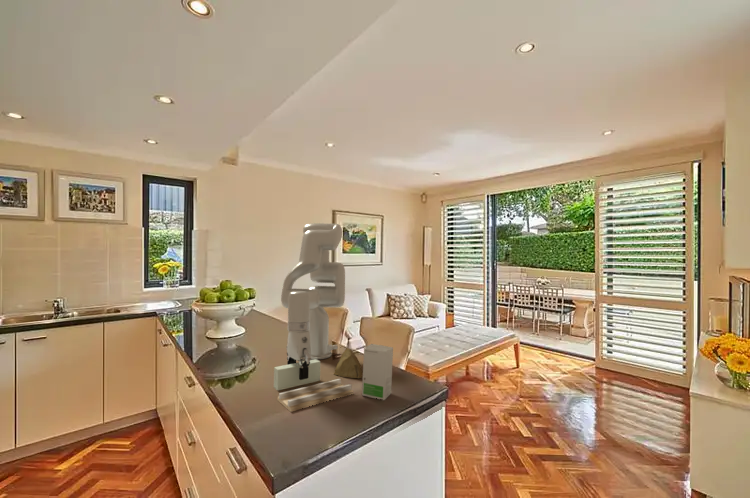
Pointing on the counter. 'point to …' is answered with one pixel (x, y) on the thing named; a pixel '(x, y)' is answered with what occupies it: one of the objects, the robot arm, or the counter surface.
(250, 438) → the counter surface
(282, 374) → the door panel
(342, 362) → the rock
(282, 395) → the bottom track
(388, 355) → the skincare box
